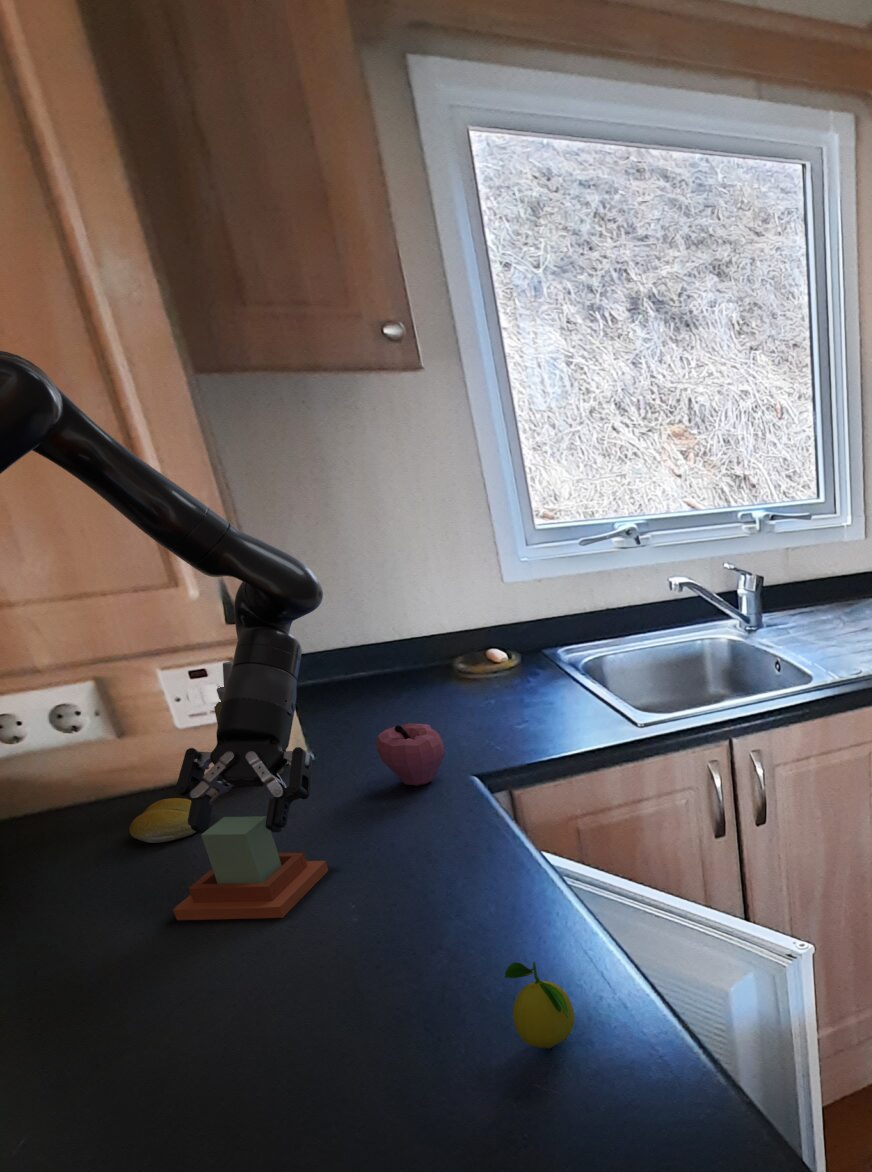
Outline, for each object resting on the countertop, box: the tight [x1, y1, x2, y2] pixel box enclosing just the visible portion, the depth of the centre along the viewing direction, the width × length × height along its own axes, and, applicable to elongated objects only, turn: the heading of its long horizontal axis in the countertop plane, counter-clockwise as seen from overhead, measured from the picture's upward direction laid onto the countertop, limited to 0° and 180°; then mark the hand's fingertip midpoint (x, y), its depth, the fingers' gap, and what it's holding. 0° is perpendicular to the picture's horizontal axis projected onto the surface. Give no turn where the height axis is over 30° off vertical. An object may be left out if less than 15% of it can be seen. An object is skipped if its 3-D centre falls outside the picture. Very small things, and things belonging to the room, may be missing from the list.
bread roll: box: [128, 797, 197, 844], centre depth 144 cm, size 8×9×4 cm
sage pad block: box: [200, 815, 282, 884], centre depth 127 cm, size 5×5×8 cm
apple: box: [375, 722, 446, 787], centre depth 159 cm, size 10×9×10 cm
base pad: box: [172, 852, 329, 921], centre depth 129 cm, size 12×12×4 cm
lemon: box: [504, 960, 575, 1049], centre depth 102 cm, size 7×6×10 cm
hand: (236, 830), depth 126 cm, fingers open, 8 cm apart
